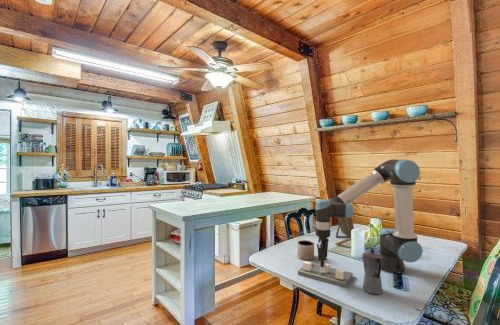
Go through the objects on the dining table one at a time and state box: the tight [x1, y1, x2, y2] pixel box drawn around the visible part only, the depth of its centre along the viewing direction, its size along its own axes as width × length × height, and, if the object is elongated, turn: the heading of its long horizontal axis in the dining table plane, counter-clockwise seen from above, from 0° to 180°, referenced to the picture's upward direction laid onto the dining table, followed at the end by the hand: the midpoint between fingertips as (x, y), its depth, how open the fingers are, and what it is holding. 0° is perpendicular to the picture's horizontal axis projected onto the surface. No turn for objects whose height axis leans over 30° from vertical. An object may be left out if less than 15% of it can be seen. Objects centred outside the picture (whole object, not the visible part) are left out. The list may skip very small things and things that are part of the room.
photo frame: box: [335, 217, 355, 240], centre depth 219 cm, size 15×22×25 cm
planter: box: [296, 240, 315, 261], centre depth 171 cm, size 11×11×10 cm
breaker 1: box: [302, 260, 313, 271], centre depth 147 cm, size 4×3×4 cm
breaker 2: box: [335, 268, 346, 280], centre depth 137 cm, size 4×3×4 cm
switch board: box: [297, 262, 354, 289], centre depth 145 cm, size 26×15×2 cm, turn 56°
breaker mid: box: [325, 262, 331, 273], centre depth 145 cm, size 4×3×4 cm
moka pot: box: [362, 249, 383, 295], centre depth 128 cm, size 10×15×20 cm, turn 2°
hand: (322, 271), depth 141 cm, fingers closed
